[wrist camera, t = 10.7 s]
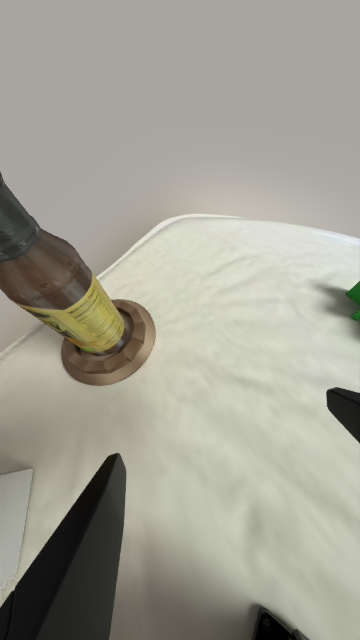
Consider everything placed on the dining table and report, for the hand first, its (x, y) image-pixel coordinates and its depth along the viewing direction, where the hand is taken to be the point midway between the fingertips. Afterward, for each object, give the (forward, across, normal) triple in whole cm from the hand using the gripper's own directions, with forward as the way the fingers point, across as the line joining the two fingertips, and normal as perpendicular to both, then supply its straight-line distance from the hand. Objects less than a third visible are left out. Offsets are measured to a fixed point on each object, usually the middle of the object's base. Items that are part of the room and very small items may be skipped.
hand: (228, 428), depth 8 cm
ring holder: (+20, +10, 0) cm, 22 cm away
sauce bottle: (+19, +10, 0) cm, 22 cm away
